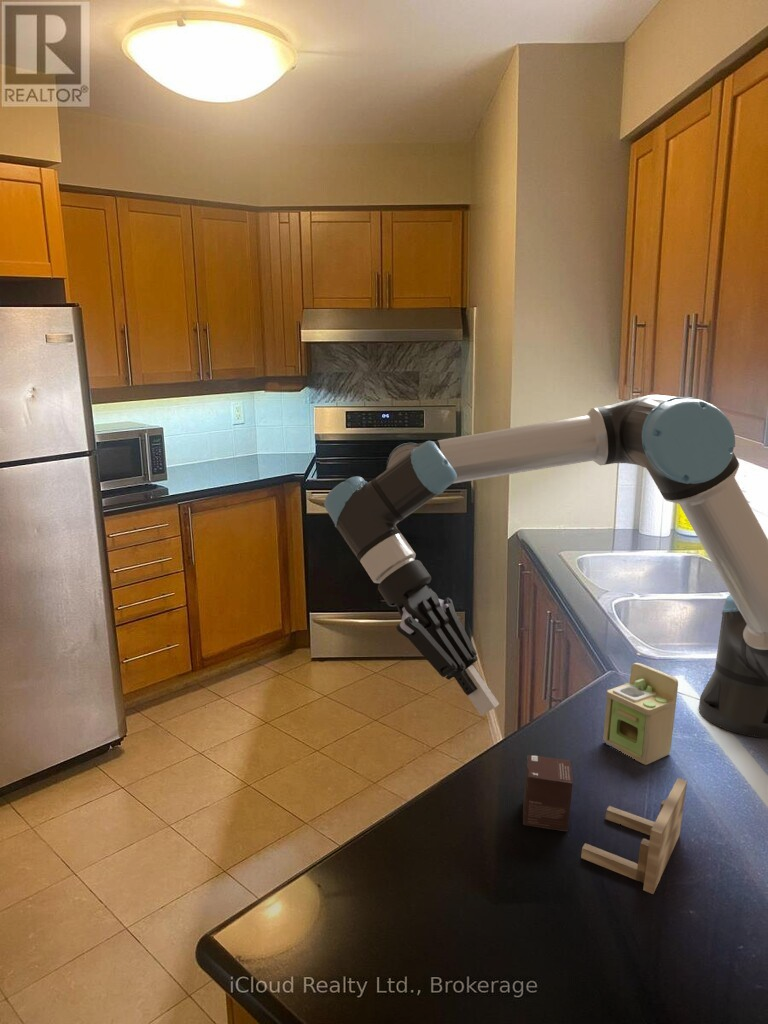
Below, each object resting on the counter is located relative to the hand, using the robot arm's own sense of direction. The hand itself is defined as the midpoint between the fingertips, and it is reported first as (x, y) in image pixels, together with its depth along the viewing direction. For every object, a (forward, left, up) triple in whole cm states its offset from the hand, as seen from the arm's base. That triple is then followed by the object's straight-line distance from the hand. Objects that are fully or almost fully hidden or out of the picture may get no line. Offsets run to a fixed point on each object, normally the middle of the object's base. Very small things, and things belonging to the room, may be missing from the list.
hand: (490, 709), depth 105 cm
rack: (0, +20, -13) cm, 24 cm away
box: (0, +9, -13) cm, 16 cm away
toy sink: (-27, +14, -13) cm, 33 cm away
